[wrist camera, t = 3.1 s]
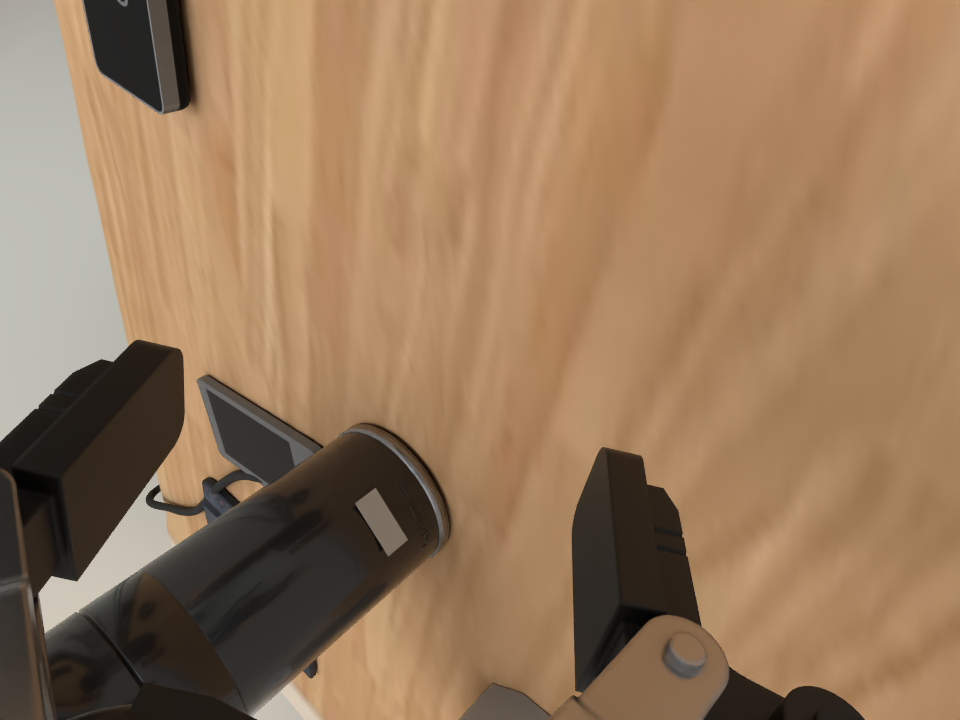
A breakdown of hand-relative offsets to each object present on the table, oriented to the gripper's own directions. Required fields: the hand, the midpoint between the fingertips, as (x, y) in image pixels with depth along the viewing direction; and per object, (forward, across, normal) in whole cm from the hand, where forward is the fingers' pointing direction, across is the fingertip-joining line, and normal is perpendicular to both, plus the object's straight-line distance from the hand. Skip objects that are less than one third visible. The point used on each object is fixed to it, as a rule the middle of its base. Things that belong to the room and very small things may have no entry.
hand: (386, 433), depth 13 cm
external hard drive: (+30, +19, -1) cm, 35 cm away
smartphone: (+30, +11, +30) cm, 44 cm away
